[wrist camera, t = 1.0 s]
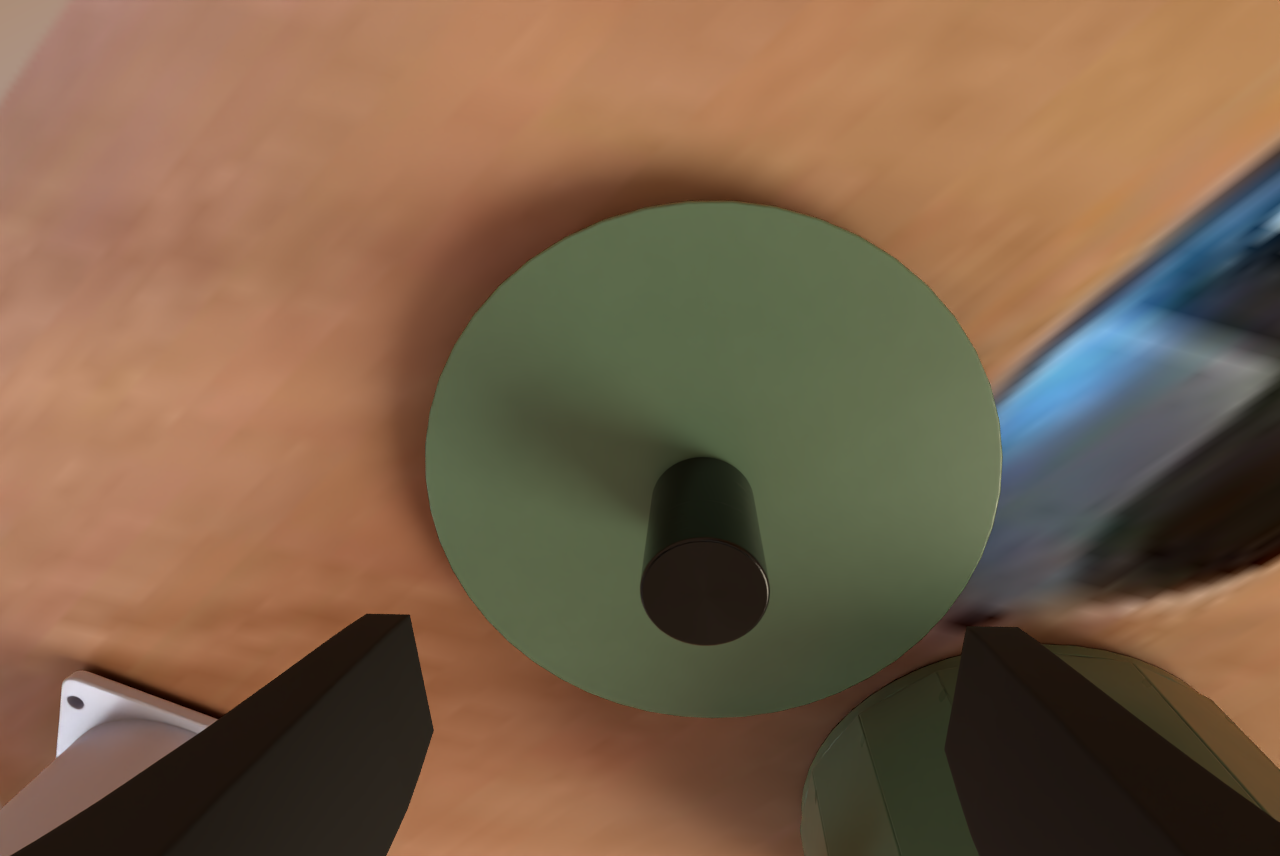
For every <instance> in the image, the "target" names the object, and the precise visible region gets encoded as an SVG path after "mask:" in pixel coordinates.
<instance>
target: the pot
mask: <svg viewBox="0 0 1280 856" xmlns="http://www.w3.org/2000/svg"><path fill="white" fill-rule="evenodd" d="M1042 645H1043V646H1045V647H1046V648H1047V649H1049V650H1050V651H1051V652H1052V653H1054V654H1055V655H1056V656H1058V657H1059V658H1060V659H1062V660H1063V661H1064V662H1066V663H1067V664H1068V665H1070V666H1071V667H1072V668H1073V669H1075V670H1076V671H1077V672H1079V673H1080V674H1081V675H1083V676H1084V677H1085V678H1086V679H1088V680H1089V681H1090V682H1092V683H1093V684H1094V685H1095V686H1097V687H1098V688H1099V689H1101V690H1102V691H1103V692H1105V693H1106V694H1107V695H1108V696H1110V697H1111V698H1112V699H1114V700H1115V701H1116V702H1118V703H1119V704H1120V705H1121V706H1123V707H1124V708H1125V709H1127V710H1128V711H1129V712H1131V713H1132V714H1133V715H1134V716H1136V717H1137V718H1138V719H1140V720H1141V721H1142V722H1144V723H1145V724H1146V725H1148V726H1149V727H1150V728H1152V729H1153V730H1154V731H1156V732H1157V733H1158V734H1159V735H1161V736H1162V737H1163V738H1165V739H1166V740H1167V741H1169V742H1170V743H1171V744H1173V745H1174V746H1175V747H1177V748H1178V749H1179V750H1181V751H1182V752H1183V753H1185V754H1186V755H1187V756H1189V757H1190V758H1191V759H1193V760H1194V761H1195V762H1197V763H1198V764H1200V765H1201V766H1202V767H1204V768H1205V769H1206V770H1208V771H1209V772H1210V773H1212V774H1213V775H1214V776H1216V777H1217V778H1219V779H1220V780H1221V781H1223V782H1224V783H1225V784H1227V785H1228V786H1230V787H1231V788H1232V789H1234V790H1235V791H1236V792H1238V793H1239V794H1241V795H1242V796H1243V797H1245V798H1246V799H1248V800H1249V801H1250V802H1252V803H1253V804H1255V805H1256V806H1257V807H1259V808H1260V809H1261V810H1263V811H1264V812H1266V813H1267V814H1268V815H1270V816H1271V817H1273V818H1274V819H1276V820H1277V821H1278V822H1280V770H1279V768H1278V767H1277V766H1276V765H1275V764H1274V763H1273V762H1272V761H1271V760H1270V759H1269V758H1268V757H1267V756H1266V755H1265V754H1264V753H1263V752H1262V751H1261V750H1260V749H1259V748H1258V747H1257V746H1256V745H1255V744H1254V743H1253V742H1252V741H1251V740H1250V739H1249V738H1248V737H1247V736H1246V735H1245V734H1244V733H1243V732H1242V731H1241V730H1240V729H1239V728H1238V727H1237V726H1236V724H1235V723H1234V722H1233V721H1232V720H1231V719H1230V718H1229V717H1228V716H1227V715H1226V714H1225V713H1224V712H1223V711H1222V710H1221V709H1220V708H1219V707H1218V706H1217V705H1216V704H1215V703H1214V702H1213V701H1212V700H1211V699H1209V698H1207V697H1205V696H1203V695H1201V694H1199V693H1198V692H1197V691H1195V690H1194V689H1193V688H1191V687H1190V686H1189V685H1188V684H1186V683H1185V682H1183V681H1182V680H1180V679H1178V678H1176V677H1175V676H1173V675H1171V674H1169V673H1167V672H1166V671H1164V670H1162V669H1160V668H1158V667H1155V666H1153V665H1150V664H1148V663H1145V662H1143V661H1140V660H1137V659H1135V658H1132V657H1128V656H1124V655H1121V654H1117V653H1113V652H1109V651H1106V650H1100V649H1093V648H1086V647H1079V646H1071V645H1047V644H1042ZM960 660H961V655H960V656H956V657H952V658H949V659H945V660H943V661H940V662H937V663H935V664H932V665H929V666H926V667H924V668H921V669H918V670H916V671H914V672H912V673H910V674H908V675H906V676H904V677H902V678H900V679H898V680H896V681H894V682H892V683H890V684H889V685H887V686H885V687H884V688H882V689H881V690H879V691H878V692H876V693H874V694H873V695H871V696H870V697H868V698H867V699H866V700H865V701H863V702H862V703H861V704H860V705H858V706H857V707H856V708H855V709H853V710H852V711H851V712H850V713H849V714H848V715H847V716H846V717H845V718H844V719H843V720H842V721H841V722H840V723H839V724H838V725H837V726H836V727H835V728H834V729H833V730H832V732H831V733H830V734H829V736H828V737H827V739H826V740H825V741H824V743H823V744H822V746H821V747H820V748H819V750H818V752H817V754H816V756H815V758H814V760H813V762H812V764H811V766H810V768H809V771H808V775H807V778H806V781H805V784H804V788H803V796H802V805H801V811H802V821H801V825H800V833H801V840H802V846H803V852H804V856H979V854H978V851H977V849H976V847H975V844H974V842H973V839H972V837H971V834H970V831H969V828H968V825H967V822H966V819H965V816H964V813H963V810H962V807H961V803H960V800H959V797H958V794H957V791H956V787H955V784H954V781H953V777H952V774H951V771H950V767H949V764H948V760H947V757H946V754H945V750H944V748H945V742H946V737H947V731H948V726H949V720H950V715H951V709H952V704H953V698H954V693H955V687H956V682H957V676H958V671H959V665H960Z"/></svg>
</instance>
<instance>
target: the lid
mask: <svg viewBox="0 0 1280 856" xmlns="http://www.w3.org/2000/svg"><path fill="white" fill-rule="evenodd" d="M425 470H426V484H427V491H428V497H429V504H430V510H431V514H432V517H433V521H434V524H435V527H436V531H437V534H438V538H439V541H440V543H441V545H442V548H443V550H444V552H445V554H446V557H447V559H448V561H449V563H450V566H451V568H452V570H453V571H454V573H455V575H456V576H457V578H458V580H459V581H460V583H461V585H462V586H463V588H464V590H465V591H466V593H467V595H468V596H469V597H470V599H471V600H472V601H473V603H474V604H475V605H476V606H477V608H478V609H479V610H480V611H481V613H482V614H483V615H484V616H485V618H486V619H487V620H488V621H489V622H490V623H491V624H492V625H493V626H494V627H495V628H496V629H497V630H498V631H499V632H500V633H501V634H502V635H503V636H504V637H505V638H506V639H507V640H508V641H509V642H510V643H511V644H512V645H513V646H515V647H516V648H517V649H518V650H520V651H521V652H522V653H523V654H525V655H526V656H527V657H528V658H530V659H531V660H532V661H533V662H535V663H536V664H538V665H540V666H541V667H543V668H544V669H546V670H548V671H549V672H551V673H552V674H554V675H555V676H557V677H559V678H560V679H562V680H564V681H566V682H568V683H570V684H572V685H574V686H576V687H578V688H580V689H582V690H584V691H586V692H588V693H591V694H594V695H596V696H599V697H602V698H605V699H607V700H610V701H613V702H615V703H618V704H622V705H626V706H630V707H633V708H637V709H641V710H645V711H649V712H655V713H662V714H668V715H675V716H682V717H701V718H727V717H746V716H753V715H759V714H766V713H773V712H779V711H782V710H786V709H790V708H794V707H798V706H802V705H806V704H810V703H812V702H815V701H818V700H820V699H823V698H826V697H829V696H831V695H834V694H837V693H839V692H841V691H843V690H845V689H847V688H849V687H851V686H853V685H855V684H857V683H859V682H861V681H863V680H866V679H868V678H869V677H871V676H872V675H874V674H875V673H877V672H879V671H880V670H882V669H883V668H885V667H886V666H888V665H889V664H891V663H893V662H894V661H896V660H897V659H898V658H899V657H901V656H902V655H903V654H904V653H905V652H907V651H908V650H909V649H910V648H912V647H913V646H914V645H915V644H916V643H918V642H919V641H920V640H921V639H922V638H923V637H924V636H925V635H926V634H927V633H928V632H929V631H930V630H931V629H932V628H933V627H934V626H935V625H936V624H937V623H938V622H939V620H940V619H941V618H942V617H943V616H944V615H945V614H946V613H947V611H948V610H949V608H950V607H951V606H952V604H953V603H954V602H955V600H956V599H957V598H958V596H959V595H960V594H961V592H962V591H963V589H964V588H965V586H966V584H967V583H968V581H969V579H970V577H971V575H972V573H973V572H974V570H975V568H976V566H977V564H978V562H979V561H980V559H981V556H982V554H983V551H984V548H985V546H986V543H987V540H988V538H989V535H990V532H991V530H992V527H993V523H994V519H995V514H996V509H997V505H998V500H999V496H1000V488H1001V472H1002V446H1001V434H1000V423H999V417H998V414H997V410H996V406H995V402H994V398H993V394H992V390H991V386H990V383H989V381H988V378H987V376H986V374H985V371H984V369H983V367H982V364H981V362H980V359H979V357H978V355H977V352H976V350H975V348H974V347H973V345H972V344H971V342H970V340H969V339H968V337H967V336H966V334H965V332H964V331H963V329H962V328H961V326H960V324H959V323H958V321H957V320H956V318H955V316H954V315H953V314H952V313H951V312H950V311H949V309H948V308H947V307H946V306H945V305H944V304H943V303H942V301H941V300H940V299H939V298H938V297H937V296H936V295H935V293H934V292H933V291H932V290H931V289H930V288H929V286H928V285H926V284H925V283H924V282H923V281H922V280H921V279H919V278H918V277H917V276H916V275H915V274H914V273H912V272H911V271H910V270H909V269H908V268H906V267H905V266H904V265H903V264H902V263H901V262H899V261H898V260H897V259H896V258H894V257H893V256H891V255H889V254H888V253H886V252H885V251H883V250H881V249H880V248H878V247H877V246H875V245H873V244H872V243H870V242H868V241H867V240H865V239H864V238H862V237H860V236H858V235H856V234H854V233H852V232H849V231H847V230H845V229H842V228H840V227H838V226H836V225H833V224H831V223H829V222H826V221H824V220H822V219H819V218H817V217H813V216H810V215H806V214H802V213H799V212H795V211H792V210H788V209H784V208H781V207H777V206H772V205H764V204H756V203H749V202H741V201H733V200H709V201H683V202H676V203H670V204H663V205H656V206H649V207H644V208H641V209H637V210H634V211H631V212H627V213H624V214H620V215H617V216H614V217H610V218H607V219H604V220H602V221H600V222H597V223H595V224H593V225H591V226H589V227H586V228H584V229H582V230H580V231H577V232H575V233H573V234H571V235H569V236H567V237H565V238H563V239H561V240H560V241H558V242H557V243H555V244H554V245H552V246H550V247H549V248H547V249H546V250H544V251H542V252H541V253H539V254H538V255H536V256H535V257H533V258H531V259H530V260H529V261H527V262H526V263H525V264H524V265H523V266H522V267H520V268H519V269H518V270H517V271H516V272H515V273H513V274H512V275H511V276H510V277H509V278H508V279H506V280H505V281H504V282H503V283H502V284H501V285H499V287H498V288H497V289H496V290H495V291H494V292H493V293H492V295H491V296H490V297H489V298H488V299H487V300H486V301H485V303H484V304H483V305H482V306H481V307H480V308H479V309H478V311H477V312H476V313H475V314H474V315H473V317H472V319H471V320H470V322H469V323H468V325H467V326H466V328H465V329H464V331H463V332H462V334H461V335H460V337H459V339H458V340H457V342H456V343H455V345H454V347H453V349H452V351H451V353H450V356H449V358H448V360H447V362H446V364H445V367H444V369H443V371H442V373H441V375H440V377H439V381H438V384H437V388H436V391H435V395H434V398H433V402H432V405H431V409H430V413H429V421H428V428H427V435H426V443H425Z"/></svg>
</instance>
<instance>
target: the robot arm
mask: <svg viewBox="0 0 1280 856" xmlns="http://www.w3.org/2000/svg"><path fill="white" fill-rule="evenodd" d="M433 731H434V729H433V725H432V720H431V715H430V710H429V705H428V701H427V696H426V691H425V686H424V681H423V676H422V672H421V667H420V662H419V657H418V652H417V647H416V643H415V638H414V633H413V628H412V623H411V618H410V615H396V614H366V615H364V616H363V617H361V618H360V619H358V620H356V621H355V622H353V623H352V624H350V625H349V626H347V627H346V628H344V629H343V630H342V631H340V632H339V633H337V634H336V635H335V636H333V637H332V638H330V639H329V640H327V641H326V642H325V643H323V644H322V645H321V646H319V647H318V648H316V649H315V650H314V651H312V652H311V653H309V654H308V655H307V656H305V657H304V658H303V659H301V660H300V661H299V662H297V663H296V664H294V665H293V666H292V667H290V668H289V669H288V670H286V671H285V672H283V673H282V674H281V675H279V676H278V677H277V678H275V679H274V680H272V681H271V682H270V683H268V684H267V685H266V686H264V687H263V688H261V689H260V690H259V691H257V692H256V693H254V694H253V695H252V696H250V697H249V698H247V699H246V700H245V701H243V702H242V703H241V704H239V705H238V706H236V707H235V708H234V709H232V710H231V711H229V712H228V713H227V714H225V715H224V716H222V717H221V718H220V719H216V718H213V717H211V716H208V715H205V714H202V713H200V712H197V711H194V710H192V709H189V708H186V707H183V706H181V705H178V704H175V703H173V702H170V701H167V700H164V699H162V698H159V697H156V696H154V695H151V694H148V693H145V692H143V691H140V690H137V689H135V688H132V687H129V686H126V685H124V684H121V683H118V682H116V681H113V680H110V679H107V678H105V677H102V676H99V675H96V674H94V673H91V672H88V671H84V670H80V671H75V672H74V673H72V674H71V675H70V676H68V677H67V678H66V679H65V680H64V681H63V683H62V690H61V702H60V714H59V727H58V739H57V751H56V759H55V760H54V761H53V762H52V763H50V764H49V765H48V766H47V767H46V768H45V769H44V770H43V771H42V772H41V773H40V774H38V775H37V776H36V777H35V778H34V779H33V780H32V781H31V782H30V783H29V784H28V785H26V786H25V787H24V788H23V789H22V790H21V791H20V792H19V793H18V794H17V795H16V796H14V797H13V798H12V799H11V800H10V801H9V802H8V803H7V804H6V805H5V806H4V807H2V808H1V809H0V856H386V855H387V853H388V851H389V849H390V846H391V844H392V842H393V840H394V838H395V836H396V833H397V831H398V829H399V827H400V825H401V822H402V820H403V818H404V816H405V813H406V811H407V809H408V806H409V803H410V800H411V798H412V795H413V792H414V789H415V786H416V783H417V780H418V777H419V775H420V772H421V769H422V765H423V762H424V759H425V756H426V753H427V750H428V747H429V743H430V740H431V737H432V734H433ZM944 750H945V754H946V757H947V760H948V764H949V767H950V771H951V774H952V777H953V781H954V784H955V787H956V791H957V794H958V797H959V800H960V803H961V807H962V810H963V813H964V816H965V819H966V822H967V825H968V828H969V831H970V834H971V837H972V839H973V842H974V844H975V847H976V849H977V851H978V854H979V856H1280V822H1278V821H1277V820H1276V819H1274V818H1273V817H1271V816H1270V815H1268V814H1267V813H1266V812H1264V811H1263V810H1261V809H1260V808H1259V807H1257V806H1256V805H1255V804H1253V803H1252V802H1250V801H1249V800H1248V799H1246V798H1245V797H1243V796H1242V795H1241V794H1239V793H1238V792H1236V791H1235V790H1234V789H1232V788H1231V787H1230V786H1228V785H1227V784H1225V783H1224V782H1223V781H1221V780H1220V779H1219V778H1217V777H1216V776H1214V775H1213V774H1212V773H1210V772H1209V771H1208V770H1206V769H1205V768H1204V767H1202V766H1201V765H1200V764H1198V763H1197V762H1195V761H1194V760H1193V759H1191V758H1190V757H1189V756H1187V755H1186V754H1185V753H1183V752H1182V751H1181V750H1179V749H1178V748H1177V747H1175V746H1174V745H1173V744H1171V743H1170V742H1169V741H1167V740H1166V739H1165V738H1163V737H1162V736H1161V735H1159V734H1158V733H1157V732H1156V731H1154V730H1153V729H1152V728H1150V727H1149V726H1148V725H1146V724H1145V723H1144V722H1142V721H1141V720H1140V719H1138V718H1137V717H1136V716H1134V715H1133V714H1132V713H1131V712H1129V711H1128V710H1127V709H1125V708H1124V707H1123V706H1121V705H1120V704H1119V703H1118V702H1116V701H1115V700H1114V699H1112V698H1111V697H1110V696H1108V695H1107V694H1106V693H1105V692H1103V691H1102V690H1101V689H1099V688H1098V687H1097V686H1095V685H1094V684H1093V683H1092V682H1090V681H1089V680H1088V679H1086V678H1085V677H1084V676H1083V675H1081V674H1080V673H1079V672H1077V671H1076V670H1075V669H1073V668H1072V667H1071V666H1070V665H1068V664H1067V663H1066V662H1064V661H1063V660H1062V659H1060V658H1059V657H1058V656H1056V655H1055V654H1054V653H1052V652H1051V651H1050V650H1049V649H1047V648H1046V647H1045V646H1043V645H1042V644H1040V643H1039V642H1038V641H1036V640H1035V639H1034V638H1032V637H1031V636H1029V635H1028V634H1027V633H1025V632H1024V631H1022V630H1021V629H1020V628H1018V627H974V626H967V627H966V632H965V638H964V643H963V649H962V654H961V660H960V665H959V671H958V676H957V682H956V687H955V693H954V698H953V704H952V709H951V715H950V720H949V726H948V731H947V737H946V742H945V748H944Z"/></svg>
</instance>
